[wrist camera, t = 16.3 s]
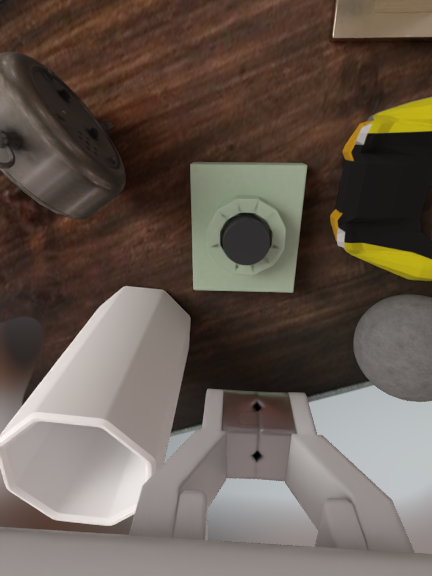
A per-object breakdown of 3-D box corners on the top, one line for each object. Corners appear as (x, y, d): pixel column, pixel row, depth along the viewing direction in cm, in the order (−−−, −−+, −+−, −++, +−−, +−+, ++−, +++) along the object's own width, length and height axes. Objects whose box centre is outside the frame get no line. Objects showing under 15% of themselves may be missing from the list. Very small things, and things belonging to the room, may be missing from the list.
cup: (169, 380, 42) (125, 546, 25) (84, 343, 40) (-24, 495, 23) (209, 311, 37) (188, 456, 21) (116, 266, 36) (10, 385, 19)
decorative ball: (360, 269, 34) (405, 318, 25) (454, 287, 35) (531, 343, 26) (329, 348, 39) (357, 415, 30) (413, 364, 39) (466, 435, 30)
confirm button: (223, 214, 29) (222, 219, 28) (270, 215, 29) (272, 220, 27) (223, 258, 31) (222, 265, 29) (266, 259, 31) (268, 266, 29)
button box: (192, 161, 31) (187, 166, 27) (302, 162, 30) (312, 167, 27) (195, 281, 36) (191, 298, 32) (290, 283, 35) (296, 301, 32)
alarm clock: (28, 100, 29) (-178, 67, 15) (72, 57, 28) (-109, -24, 13) (111, 205, 33) (11, 264, 18) (154, 172, 31) (82, 208, 17)
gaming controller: (474, 95, 28) (351, 89, 28) (527, 87, 23) (376, 80, 23) (419, 266, 34) (319, 260, 34) (450, 289, 29) (333, 282, 29)
